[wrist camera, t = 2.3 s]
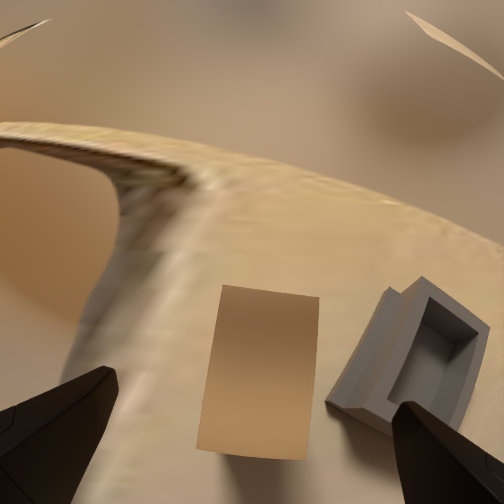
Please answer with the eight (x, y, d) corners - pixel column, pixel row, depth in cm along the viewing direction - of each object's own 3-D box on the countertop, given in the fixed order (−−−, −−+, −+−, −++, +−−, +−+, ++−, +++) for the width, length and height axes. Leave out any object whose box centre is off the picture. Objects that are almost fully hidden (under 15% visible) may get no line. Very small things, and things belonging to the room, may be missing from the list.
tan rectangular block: (266, 430, 15) (305, 459, 6) (216, 424, 15) (195, 448, 7) (275, 353, 18) (319, 297, 9) (227, 347, 18) (222, 284, 9)
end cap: (422, 452, 14) (457, 455, 11) (324, 400, 16) (348, 398, 13) (464, 348, 18) (497, 333, 14) (383, 292, 20) (410, 267, 17)
